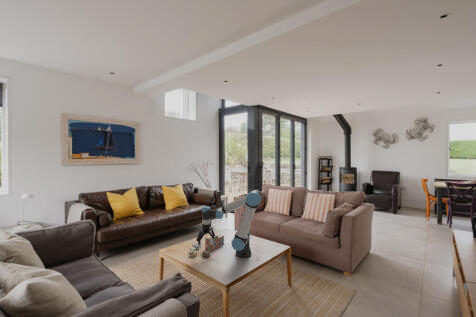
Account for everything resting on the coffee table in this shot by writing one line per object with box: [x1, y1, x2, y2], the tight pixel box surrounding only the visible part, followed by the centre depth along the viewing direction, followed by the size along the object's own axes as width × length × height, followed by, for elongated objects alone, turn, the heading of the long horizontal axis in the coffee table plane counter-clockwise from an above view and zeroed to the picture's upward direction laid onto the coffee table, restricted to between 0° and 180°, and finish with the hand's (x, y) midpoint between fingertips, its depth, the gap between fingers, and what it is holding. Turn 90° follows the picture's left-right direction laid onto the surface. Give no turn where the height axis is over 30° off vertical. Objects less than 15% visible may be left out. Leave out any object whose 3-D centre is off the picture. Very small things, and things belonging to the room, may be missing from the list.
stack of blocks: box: [204, 234, 225, 252], centre depth 236 cm, size 21×6×12 cm, turn 143°
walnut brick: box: [202, 250, 211, 258], centre depth 215 cm, size 6×4×4 cm, turn 46°
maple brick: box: [189, 250, 198, 258], centre depth 216 cm, size 6×4×4 cm, turn 69°
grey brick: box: [191, 243, 200, 251], centre depth 230 cm, size 6×4×4 cm, turn 55°
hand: (205, 246), depth 215 cm, fingers open, 13 cm apart
